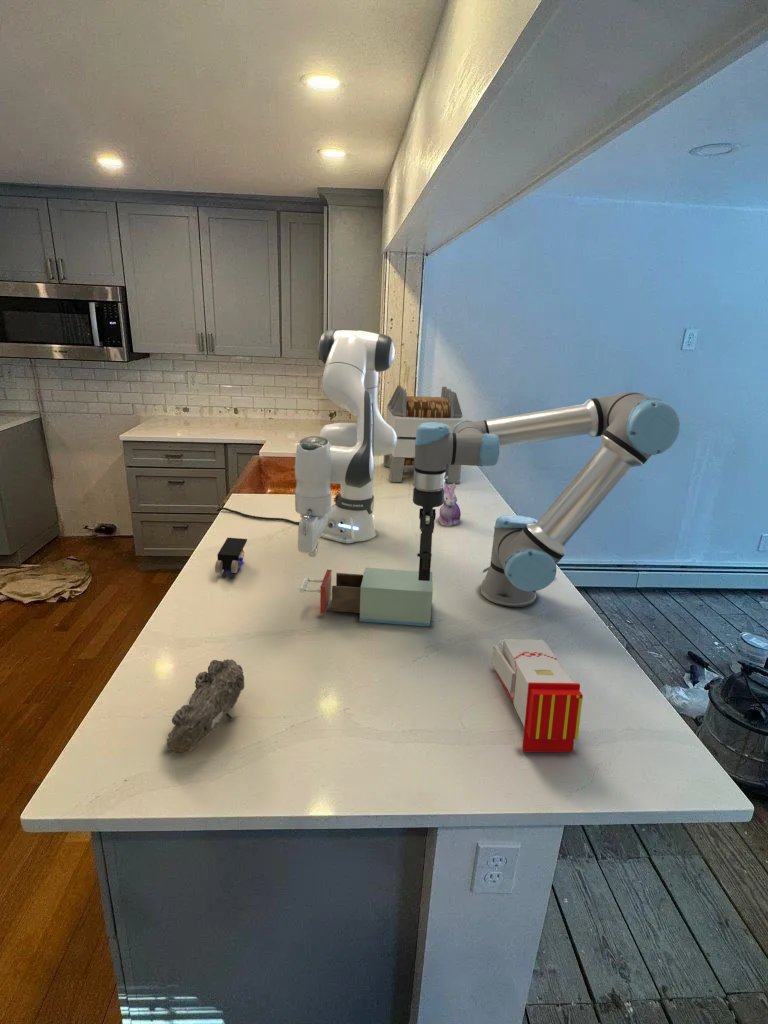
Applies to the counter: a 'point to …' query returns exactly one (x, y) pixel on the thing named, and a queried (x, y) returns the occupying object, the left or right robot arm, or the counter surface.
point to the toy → (539, 694)
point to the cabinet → (395, 597)
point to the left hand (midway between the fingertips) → (313, 555)
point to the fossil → (206, 705)
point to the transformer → (405, 420)
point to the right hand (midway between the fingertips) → (424, 568)
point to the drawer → (338, 592)
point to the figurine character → (230, 556)
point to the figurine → (449, 507)
